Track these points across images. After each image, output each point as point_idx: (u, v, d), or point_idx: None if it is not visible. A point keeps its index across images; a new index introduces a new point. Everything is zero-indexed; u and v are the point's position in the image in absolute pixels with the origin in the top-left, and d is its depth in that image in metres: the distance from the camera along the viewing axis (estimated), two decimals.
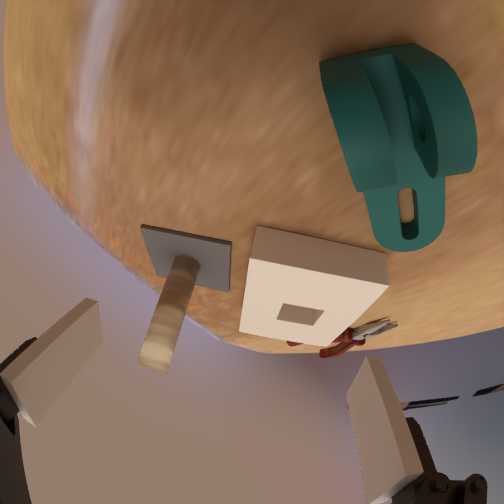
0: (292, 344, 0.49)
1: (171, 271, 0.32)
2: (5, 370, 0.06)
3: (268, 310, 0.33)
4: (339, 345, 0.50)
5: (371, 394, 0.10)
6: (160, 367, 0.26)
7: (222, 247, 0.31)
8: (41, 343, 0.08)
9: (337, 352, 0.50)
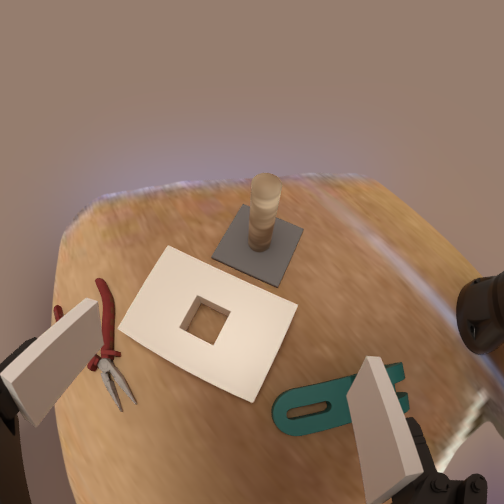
0: (100, 284, 0.38)
1: None
2: (5, 370, 0.06)
3: (216, 293, 0.36)
4: None
5: (371, 394, 0.10)
6: (272, 196, 0.30)
7: (276, 279, 0.41)
8: (41, 343, 0.08)
9: None
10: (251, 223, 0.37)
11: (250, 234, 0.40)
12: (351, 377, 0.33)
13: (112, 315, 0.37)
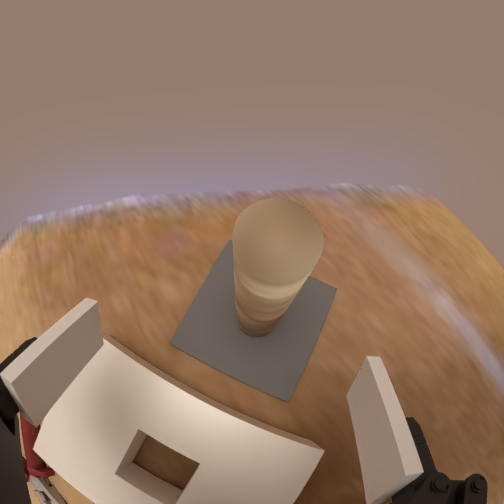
0: None
1: None
2: (5, 370, 0.06)
3: (172, 431, 0.15)
4: None
5: (371, 394, 0.10)
6: (296, 277, 0.10)
7: (286, 389, 0.20)
8: (41, 343, 0.08)
9: None
10: (239, 306, 0.16)
11: (238, 316, 0.19)
12: None
13: None
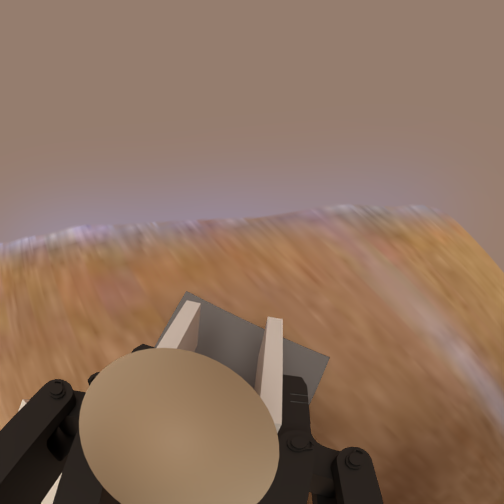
0: None
1: None
2: None
3: None
4: None
5: (263, 350, 0.12)
6: None
7: None
8: None
9: None
10: None
11: None
12: None
13: None
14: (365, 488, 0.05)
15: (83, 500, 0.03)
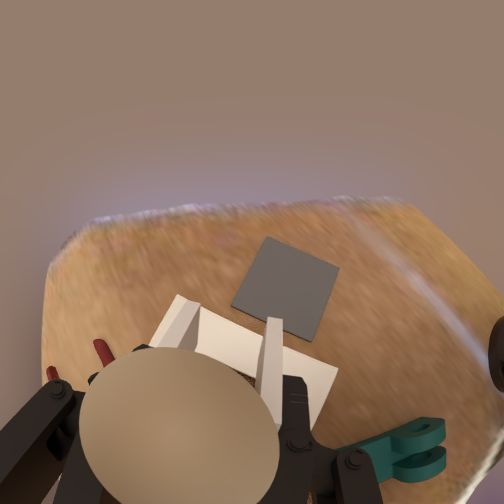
0: (100, 348, 0.29)
1: None
2: None
3: (241, 358, 0.28)
4: None
5: (263, 350, 0.12)
6: None
7: (309, 333, 0.33)
8: None
9: None
10: None
11: None
12: (390, 437, 0.25)
13: None
14: (365, 488, 0.05)
15: (84, 500, 0.03)
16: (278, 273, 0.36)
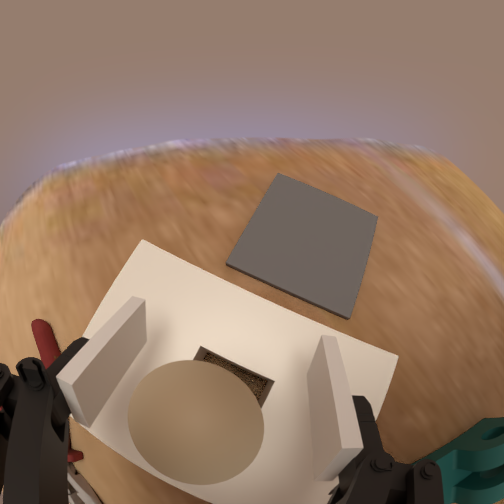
0: (38, 333, 0.17)
1: None
2: (62, 372, 0.07)
3: (242, 343, 0.16)
4: None
5: (322, 371, 0.11)
6: (218, 481, 0.05)
7: (346, 305, 0.21)
8: (96, 342, 0.09)
9: None
10: None
11: None
12: (457, 451, 0.13)
13: None
14: (433, 497, 0.04)
15: (27, 480, 0.03)
16: (296, 219, 0.25)
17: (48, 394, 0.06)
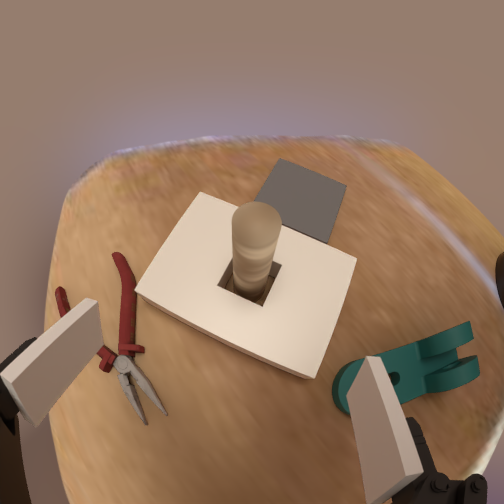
0: (118, 259, 0.31)
1: None
2: (5, 370, 0.06)
3: None
4: None
5: (371, 394, 0.10)
6: (265, 243, 0.19)
7: (324, 235, 0.35)
8: (41, 343, 0.08)
9: None
10: (235, 272, 0.25)
11: (235, 283, 0.28)
12: (418, 342, 0.27)
13: (134, 298, 0.29)
14: None
15: None
16: (291, 185, 0.38)
17: None
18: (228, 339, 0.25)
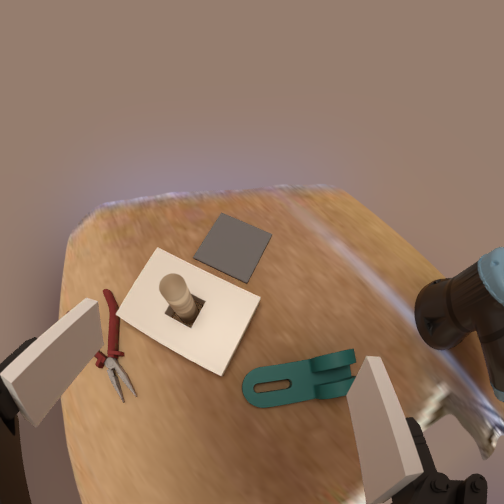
0: (107, 295, 0.45)
1: None
2: (5, 370, 0.06)
3: (194, 286, 0.44)
4: None
5: (371, 394, 0.10)
6: (175, 299, 0.33)
7: (246, 277, 0.49)
8: (41, 343, 0.08)
9: None
10: None
11: None
12: (309, 360, 0.41)
13: (117, 321, 0.44)
14: None
15: None
16: (227, 237, 0.53)
17: None
18: (169, 347, 0.40)
